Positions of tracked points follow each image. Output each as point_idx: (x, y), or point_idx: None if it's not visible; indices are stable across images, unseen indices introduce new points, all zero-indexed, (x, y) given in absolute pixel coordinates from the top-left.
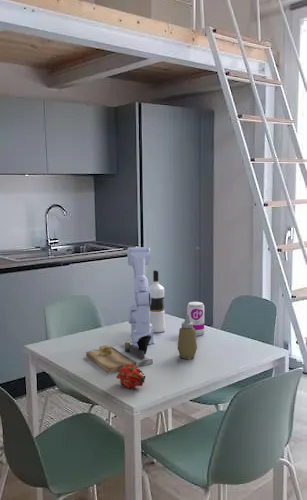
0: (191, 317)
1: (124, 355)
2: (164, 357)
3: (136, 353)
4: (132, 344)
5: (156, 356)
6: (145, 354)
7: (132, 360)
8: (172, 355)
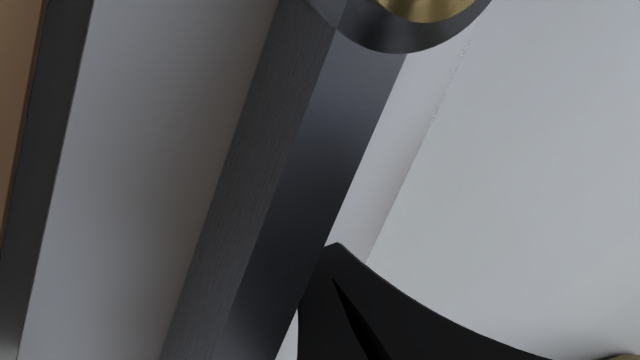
0: None
1: (94, 5)
2: (501, 303)
3: (195, 291)
4: (382, 103)
5: (492, 230)
6: (365, 256)
7: (31, 299)
8: (583, 308)
